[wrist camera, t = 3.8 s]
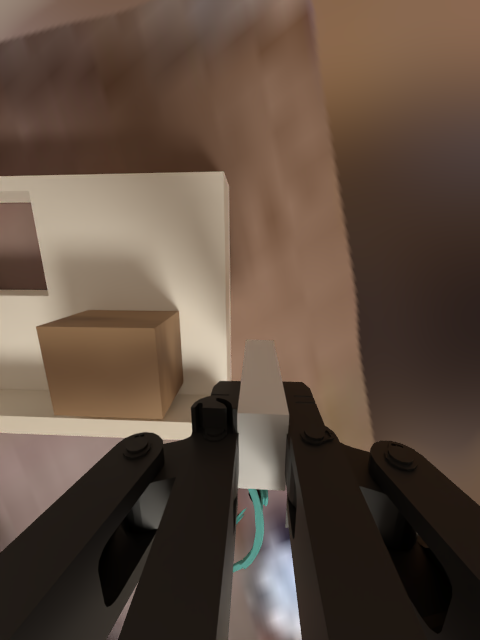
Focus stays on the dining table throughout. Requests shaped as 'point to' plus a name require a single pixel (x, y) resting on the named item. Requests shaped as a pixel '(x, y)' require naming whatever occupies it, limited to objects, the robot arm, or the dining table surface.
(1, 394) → the box
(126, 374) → the block
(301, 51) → the dining table surface
